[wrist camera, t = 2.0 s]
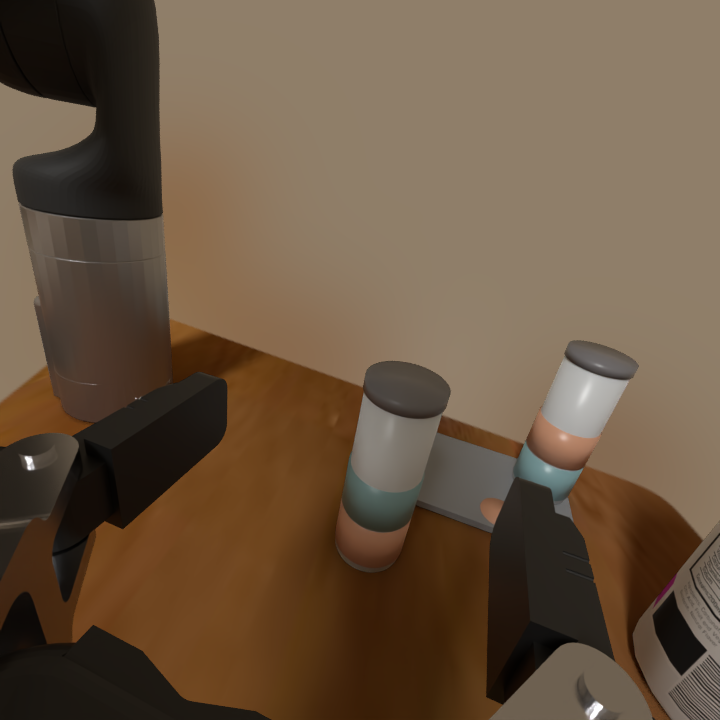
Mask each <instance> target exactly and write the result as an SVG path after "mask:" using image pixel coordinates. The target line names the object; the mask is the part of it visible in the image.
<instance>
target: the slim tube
mask: <svg viewBox="0 0 720 720" xmlns="http://www.w3.org/2000/svg"><path fill="white" fill-rule="evenodd" d="M363 390H364V394H363V399H362V404H361V409H360V415H359V420H358V425H357V430H356V435H355V440H354V445H353V450H352V452H351V454H350V457H349V462H348V468H347V473H346V478H345V483H344V488H343V494H342V499H341V504H340V509H339V514H338V519H337V525H336V530H335V542H336V548H337V550H338V552H339V554H340V556H341V557H342V559H343V560H344V561H345V562H346V563H347V564H349V565H350V566H352V567H353V568H355V569H357V570H360V571H364V572H370V573H371V572H380V571H383V570H386V569H387V568H389V567H390V566H392V565H393V564H394V562H395V561H396V559H397V558H398V556H399V554H400V553H401V550H402V547H403V544H404V540H405V537H406V534H407V531H408V528H409V524H410V521H411V518H412V515H413V512H414V508H415V505H416V502H417V499H418V496H419V492H420V489H421V486H422V483H423V480H424V475H425V472H424V471H425V468H426V464H427V461H428V458H429V455H430V451H431V448H432V445H433V442H434V439H435V435H436V432H437V429H438V426H439V422H440V419H441V416H442V413H443V411H444V410H445V409H446V406H447V403H448V400H449V397H450V387H449V385H448V384H447V383H446V381H445V380H444V379H443V378H442V377H440V376H439V375H438V374H436V373H434V372H433V371H431V370H429V369H426V368H424V367H422V366H419V365H415V364H412V363H407V362H400V361H385V362H379V363H376V364H374V365H372V366H370V367H369V368H368V369H367V371H366V375H365V380H364V385H363Z"/></svg>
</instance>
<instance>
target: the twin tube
mask: <svg viewBox="0 0 720 720" xmlns="http://www.w3.org/2000/svg"><path fill="white" fill-rule="evenodd" d="M638 367H639V365H638V364H637V362H636V361H634V360H633V359H632V358H630V357H629V356H627V355H625V354H623V353H621V352H619V351H617V350H615V349H612V348H609V347H607V346H603V345H600V344H597V343H592V342H587V341H571V342H570V343H569V344H568V346H567V348H566V350H565V356H564V358H563V361H562V363H561V366H560V368H559V370H558V372H557V374H556V377H555V379H554V381H553V383H552V386H551V388H550V390H549V392H548V395H547V397H546V399H545V401H544V404H543V406H541V407H540V409H539V412H538V414H537V416H536V418H535V421H534V423H533V425H532V428H531V430H530V432H529V434H528V437H527V439H526V441H525V443H524V446H523V448H522V450H521V452H520V455H519V457H518V459H517V461H516V464H515V466H514V469H513V474H512V478H513V481H514V479H515V478H516V477H519V478H522V479H525V480H528V481H531V482H534V483H538V484H541V485H544V486H547V487H549V488H550V489H551V491H552V496H553V501H554V505H559V504H561V503H562V502H563V501H564V500H565V499H566V498H567V497H568V495H569V494H570V492H571V490H572V488H573V486H574V484H575V483H576V481H577V479H578V477H579V475H580V473H581V472H582V470H583V468H584V466H585V464H586V462H587V461H588V459H589V457H590V455H591V453H592V451H593V449H594V448H595V446H596V444H597V442H598V440H599V439H600V437H601V435H602V430H603V428H604V426H605V425H606V423H607V421H608V419H609V417H610V415H611V413H612V412H613V410H614V408H615V406H616V404H617V402H618V401H619V399H620V397H621V395H622V393H623V391H624V389H625V388H626V386H627V384H628V382H629V380H630V379H631V378H633V376H634V374H635V373H636V371H637V369H638Z"/></svg>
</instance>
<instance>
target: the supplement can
mask: <svg viewBox="0 0 720 720" xmlns="http://www.w3.org/2000/svg"><path fill="white" fill-rule="evenodd" d="M633 642H634V650H635V657H636V659H637V661H638V664H639V666H640V668H641V670H642V672H643V675H644V677H645V679H646V681H647V684H648V686H649V687H650V689H651V692H652V693H653V695H654V696H655V697H656V699H657V700H658V702H659V703H660V705H661V706H662V707H663V709H664V710H665V712H666V713H667V714H668V716H669V717H670V719H671V720H720V521H719V522H718V523H717V525H716V526H715V527H714V528H713V529H712V531H711V532H710V533H709V534H708V536H707V537H706V538H705V539H704V540H703V542H702V543H701V544H700V545H699V547H698V548H697V549H696V550H695V551H694V553H693V554H692V555H691V556H690V558H689V559H688V560H687V561H686V563H685V564H684V565H683V566H682V567H681V569H680V570H679V571H678V572H677V574H676V575H675V576H674V577H673V578H672V580H671V581H670V582H669V583H668V585H667V586H666V587H665V588H664V589H663V591H662V592H661V593H660V594H659V596H658V597H657V598H656V599H655V600H654V602H653V603H652V604H651V605H650V607H649V608H648V609H647V610H646V611H645V613H644V614H643V615H642V616H641V618H640V619H639V620H638V623H637V625H636V627H635V630H634V632H633Z"/></svg>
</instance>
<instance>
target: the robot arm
mask: <svg viewBox="0 0 720 720" xmlns="http://www.w3.org/2000/svg"><path fill="white" fill-rule="evenodd" d="M0 82H1V83H3V84H4V85H6V86H9V87H11V88H13V89H16V90H18V91H21V92H24V93H27V94H30V95H34V96H39V97H43V98H49V99H53V100H59V101H64V102H69V103H75V104H80V105H86V106H91V107H96V122H95V127H94V130H93V132H92V133H91V134H90V135H89V136H88V137H87V138H86V139H84V140H82V141H81V142H79V143H78V144H75V145H73V146H71V147H69V148H66V149H63V150H59V151H55V152H49V153H43V154H37V155H32V156H27V157H23V158H20V159H19V160H17V161H16V162H15V164H14V166H13V179H14V185H15V189H16V194H17V198H18V202H19V206H20V212H21V216H22V221H23V226H24V230H25V235H26V240H27V244H28V248H29V253H30V257H31V262H32V267H33V271H34V275H35V281H36V285H37V290H38V294H39V296H37V297H36V298H35V299H34V307H35V311H36V315H37V320H38V325H39V329H40V333H41V338H42V343H43V347H44V352H45V356H46V361H47V365H48V370H49V374H50V379H51V383H52V388H53V392H54V395H55V396H57V397H59V398H60V399H61V403H62V407H63V409H64V410H65V412H66V413H68V414H69V415H70V416H72V417H74V418H77V419H79V420H83V421H88V422H95V424H93V425H91V426H89V427H87V428H86V429H84V430H82V431H80V432H79V433H77V434H75V435H73V436H69V435H67V434H61V433H46V434H39V435H34V436H30V437H27V438H24V439H21V440H19V441H17V442H14V443H13V444H11V445H9V446H7V447H0V720H271V719H269V718H267V717H265V716H263V715H262V714H260V713H258V712H256V711H251V710H244V709H238V708H231V707H225V706H218V705H212V704H205V703H199V702H192V701H188V700H186V699H184V698H182V697H181V696H180V695H179V694H178V693H177V691H176V690H175V689H174V688H173V687H172V685H171V684H170V683H169V682H168V681H167V680H166V678H165V677H164V676H163V675H162V674H161V673H160V671H159V670H158V669H157V668H156V667H155V665H154V664H153V663H152V662H151V661H150V660H149V658H148V657H147V656H146V655H145V654H144V652H143V651H141V650H140V649H138V648H136V647H134V646H132V645H130V644H128V643H126V642H124V641H123V640H121V639H119V638H117V637H115V636H113V635H111V634H109V633H108V632H106V631H104V630H102V629H100V628H98V627H96V626H94V625H93V626H92V627H91V628H90V629H89V630H88V631H87V632H86V633H85V634H84V635H83V636H82V637H81V638H80V639H79V640H78V641H77V642H76V643H72V625H73V617H74V612H75V608H76V605H77V601H78V598H79V594H80V591H81V587H82V584H83V580H84V577H85V574H86V570H87V567H88V563H89V560H90V556H91V553H92V549H93V546H94V542H95V538H96V531H95V529H96V528H97V527H98V526H99V525H100V524H102V523H103V522H104V521H106V522H108V523H110V524H112V525H115V526H117V527H119V528H121V529H124V528H125V527H126V526H127V525H128V524H129V523H130V522H132V521H133V520H134V519H135V518H136V517H137V516H138V515H139V514H141V513H142V512H143V511H144V510H145V509H146V508H147V507H148V506H150V505H151V504H152V503H153V502H154V501H155V500H156V499H157V498H159V497H160V496H161V495H162V494H163V493H164V492H165V491H166V490H168V489H169V488H170V487H171V486H172V485H173V484H174V483H175V482H177V481H178V480H179V479H180V478H181V477H182V476H183V475H184V474H186V473H187V472H188V471H189V470H190V469H191V468H192V467H193V466H195V465H196V464H197V463H198V462H199V461H200V460H201V459H202V458H204V457H205V456H206V455H207V454H208V453H209V452H210V451H211V450H213V449H214V448H215V447H216V446H217V445H218V444H219V443H220V441H221V440H222V438H223V436H224V434H225V431H226V427H227V383H226V381H225V380H224V379H221V378H218V377H215V376H211V375H208V374H205V373H202V372H196V373H194V374H193V375H191V376H189V377H187V378H186V379H184V380H182V381H181V382H179V383H174V384H173V375H172V354H171V337H170V320H169V304H168V287H167V271H166V254H165V240H164V223H163V214H162V213H163V210H162V189H161V188H162V187H161V152H160V122H159V35H158V26H157V16H156V8H155V3H154V0H0ZM593 580H594V576H593V572H592V568H591V565H590V564H589V556H588V552H587V548H586V544H585V540H584V538H583V536H582V535H581V533H580V532H579V530H578V529H577V528H576V526H575V525H574V523H573V522H572V520H571V519H570V517H567V516H564V515H561V514H558V513H556V512H555V507H554V501H553V496H552V491H551V489H550V488H549V487H547V486H544V485H541V484H538V483H534V482H531V481H528V480H525V479H522V478H519V477H516V478H515V479H514V481H513V483H512V485H511V487H510V489H509V492H508V494H507V496H506V499H505V501H504V503H503V505H502V508H501V510H500V512H499V515H498V517H497V519H496V522H495V524H494V528H493V531H492V536H491V541H490V558H489V601H488V644H487V687H486V697H487V698H490V699H492V700H494V701H496V702H498V703H501V704H503V706H502V707H501V708H500V709H499V710H498V711H497V712H496V713H495V714H494V715H493V716H492V717H491V718H490V719H489V720H655V719H654V718H653V717H652V715H651V712H650V710H649V707H648V705H647V702H646V701H645V699H644V697H643V695H642V693H641V692H640V690H639V689H638V687H637V686H636V684H635V683H634V682H633V680H632V679H631V678H630V677H629V675H628V674H627V673H626V672H625V671H624V670H623V669H622V668H621V667H620V666H619V665H618V664H617V663H616V662H615V659H614V656H613V652H612V648H611V644H610V640H609V636H608V632H607V628H606V624H605V620H604V616H603V612H602V608H601V604H600V600H599V596H598V592H597V588H596V584H595V583H593Z"/></svg>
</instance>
